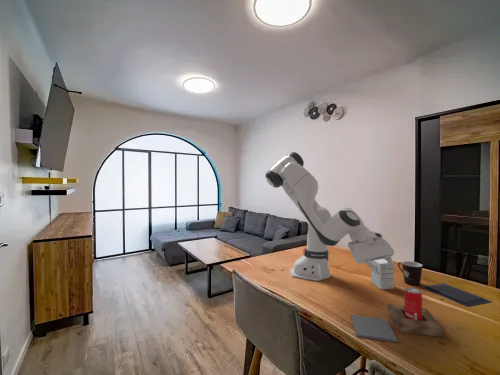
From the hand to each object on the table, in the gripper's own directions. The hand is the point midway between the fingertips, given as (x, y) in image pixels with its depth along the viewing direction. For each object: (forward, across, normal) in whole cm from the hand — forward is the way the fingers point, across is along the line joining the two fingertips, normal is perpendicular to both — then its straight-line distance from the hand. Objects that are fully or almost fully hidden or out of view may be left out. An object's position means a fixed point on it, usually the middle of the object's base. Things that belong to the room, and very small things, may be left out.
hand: (384, 269), depth 94 cm
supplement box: (+1, +19, +23) cm, 30 cm away
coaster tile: (+16, -15, +7) cm, 23 cm away
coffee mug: (+3, +36, +20) cm, 42 cm away
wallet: (+15, +40, +9) cm, 44 cm away
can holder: (+19, +1, +4) cm, 20 cm away
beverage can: (+19, +1, +4) cm, 20 cm away
